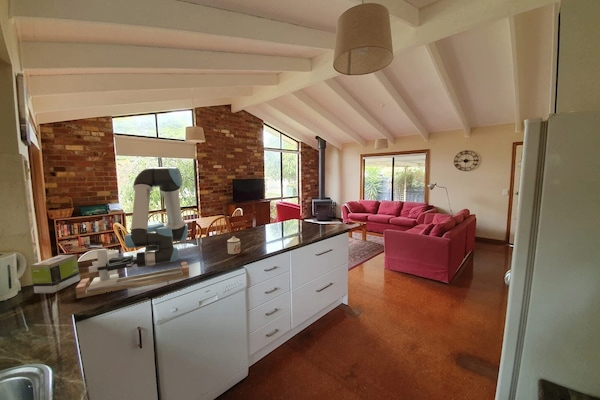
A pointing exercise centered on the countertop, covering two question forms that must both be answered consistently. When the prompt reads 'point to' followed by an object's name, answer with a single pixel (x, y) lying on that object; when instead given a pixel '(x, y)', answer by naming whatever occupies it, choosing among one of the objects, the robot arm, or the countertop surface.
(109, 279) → the carriage
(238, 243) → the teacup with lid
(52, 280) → the tea box
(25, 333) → the countertop surface
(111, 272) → the foam cup
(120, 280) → the rail
